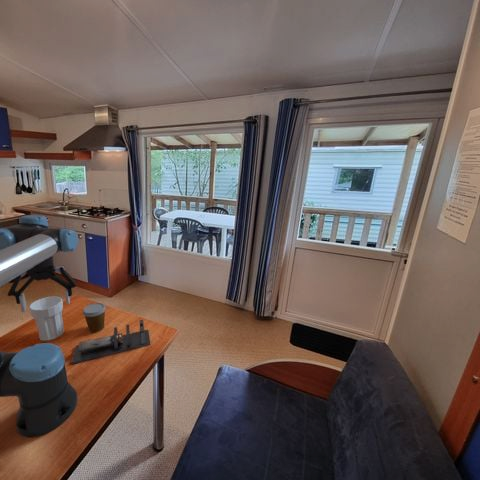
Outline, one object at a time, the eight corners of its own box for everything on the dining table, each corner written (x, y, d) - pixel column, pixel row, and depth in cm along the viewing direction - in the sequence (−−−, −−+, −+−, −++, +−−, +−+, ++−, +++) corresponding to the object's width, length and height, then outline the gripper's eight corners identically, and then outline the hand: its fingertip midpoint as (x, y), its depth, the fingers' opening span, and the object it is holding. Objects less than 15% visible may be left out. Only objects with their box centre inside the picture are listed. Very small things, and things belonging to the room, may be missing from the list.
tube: (79, 355, 94) (78, 346, 92) (81, 348, 97) (80, 339, 96) (122, 344, 101) (121, 336, 100) (122, 338, 105) (121, 330, 103)
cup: (29, 342, 99) (21, 309, 94) (50, 326, 110) (44, 295, 105) (54, 344, 100) (48, 311, 95) (73, 327, 110) (68, 297, 106)
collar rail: (150, 344, 104) (149, 329, 102) (71, 364, 90) (68, 348, 88) (148, 331, 113) (147, 317, 110) (75, 347, 99) (73, 332, 97)
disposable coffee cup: (81, 330, 109) (77, 309, 106) (100, 320, 117) (97, 300, 114) (93, 337, 105) (90, 316, 102) (112, 326, 114) (110, 306, 110)
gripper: (80, 250, 93) (85, 296, 98) (-4, 256, 80) (7, 308, 86) (78, 256, 87) (84, 304, 92) (-13, 263, 74) (-1, 319, 80)
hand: (47, 306), depth 89 cm, fingers open, 13 cm apart
